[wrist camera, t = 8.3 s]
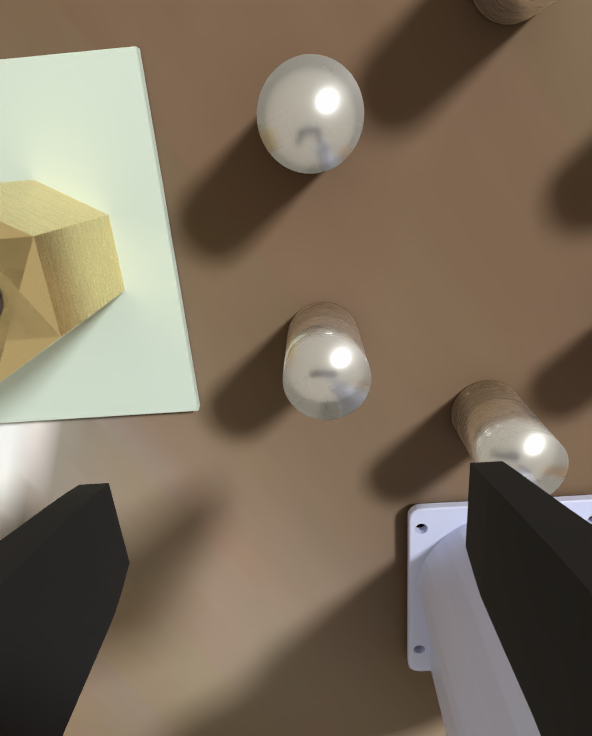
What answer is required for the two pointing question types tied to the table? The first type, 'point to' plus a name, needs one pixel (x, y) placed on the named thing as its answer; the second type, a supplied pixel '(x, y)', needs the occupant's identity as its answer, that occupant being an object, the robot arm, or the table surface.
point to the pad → (130, 231)
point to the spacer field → (334, 323)
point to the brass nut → (50, 268)
